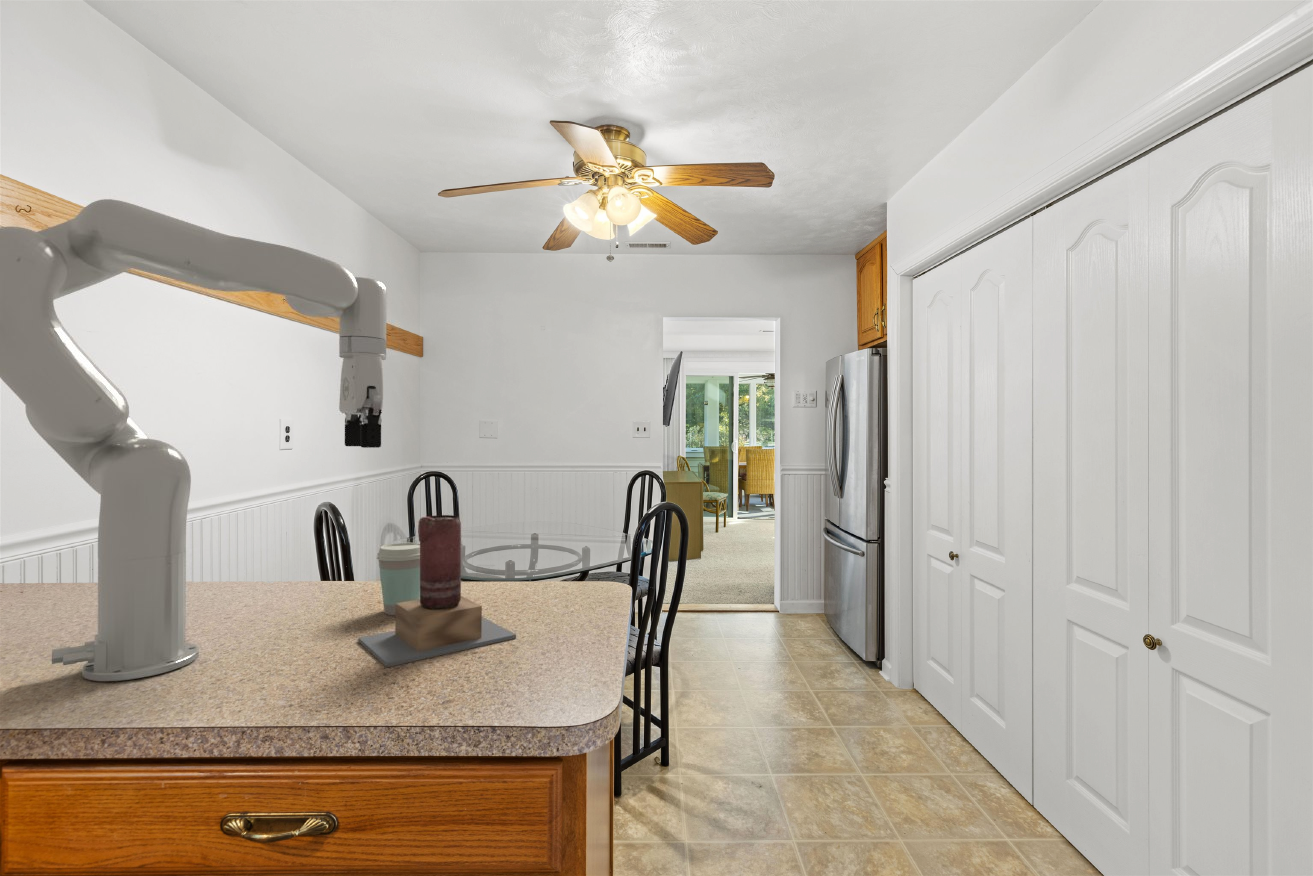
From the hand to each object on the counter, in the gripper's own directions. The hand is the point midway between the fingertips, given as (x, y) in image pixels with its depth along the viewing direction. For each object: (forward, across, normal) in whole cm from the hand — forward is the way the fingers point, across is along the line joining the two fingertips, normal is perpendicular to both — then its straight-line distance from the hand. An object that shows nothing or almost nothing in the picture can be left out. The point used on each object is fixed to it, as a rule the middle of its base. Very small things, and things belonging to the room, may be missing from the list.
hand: (362, 446), depth 111 cm
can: (+25, +20, +6) cm, 33 cm away
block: (+30, +20, +6) cm, 36 cm away
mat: (+30, +20, +6) cm, 37 cm away
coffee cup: (+31, 0, +7) cm, 31 cm away
